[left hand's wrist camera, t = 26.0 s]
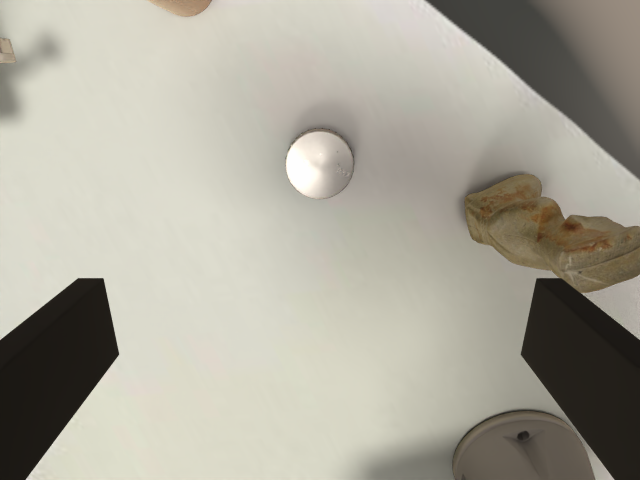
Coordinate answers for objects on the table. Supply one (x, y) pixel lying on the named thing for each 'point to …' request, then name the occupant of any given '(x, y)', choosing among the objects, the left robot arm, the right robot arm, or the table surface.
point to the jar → (182, 6)
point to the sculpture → (552, 235)
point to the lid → (319, 163)
